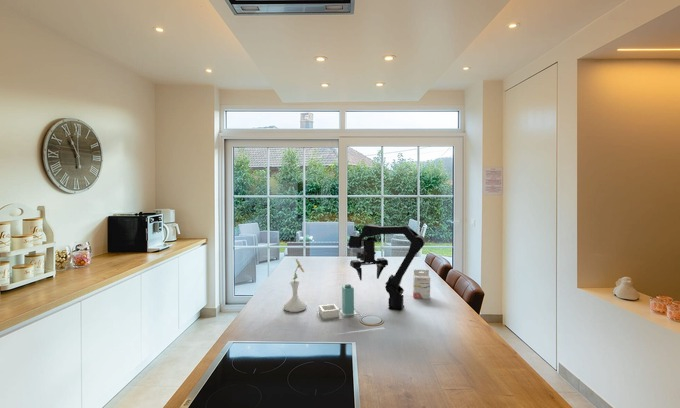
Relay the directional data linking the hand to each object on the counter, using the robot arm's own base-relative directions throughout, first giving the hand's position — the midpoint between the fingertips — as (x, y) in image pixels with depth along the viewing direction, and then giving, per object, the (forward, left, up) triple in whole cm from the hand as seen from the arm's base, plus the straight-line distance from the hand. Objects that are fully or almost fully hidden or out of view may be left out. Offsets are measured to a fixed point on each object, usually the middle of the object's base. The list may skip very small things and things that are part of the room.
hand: (369, 279), depth 174 cm
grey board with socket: (+9, +19, -13) cm, 25 cm away
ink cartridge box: (-22, -22, -13) cm, 34 cm away
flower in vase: (+31, +21, -13) cm, 40 cm away
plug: (+5, +16, -12) cm, 20 cm away
